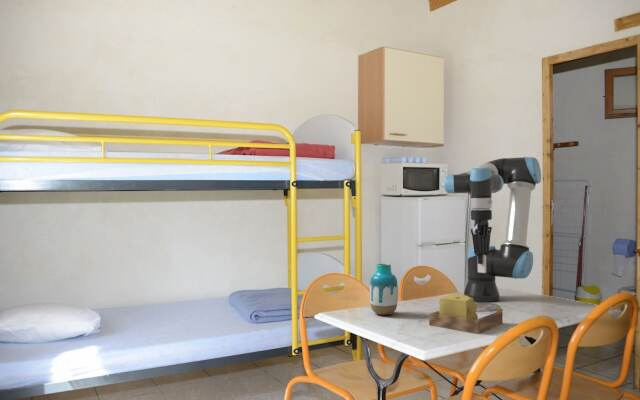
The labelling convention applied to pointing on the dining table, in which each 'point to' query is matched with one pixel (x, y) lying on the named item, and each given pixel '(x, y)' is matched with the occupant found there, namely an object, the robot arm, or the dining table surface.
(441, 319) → the bay
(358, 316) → the dining table surface
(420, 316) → the dining table surface
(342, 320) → the dining table surface
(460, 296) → the cheese
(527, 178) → the robot arm
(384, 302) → the vase
